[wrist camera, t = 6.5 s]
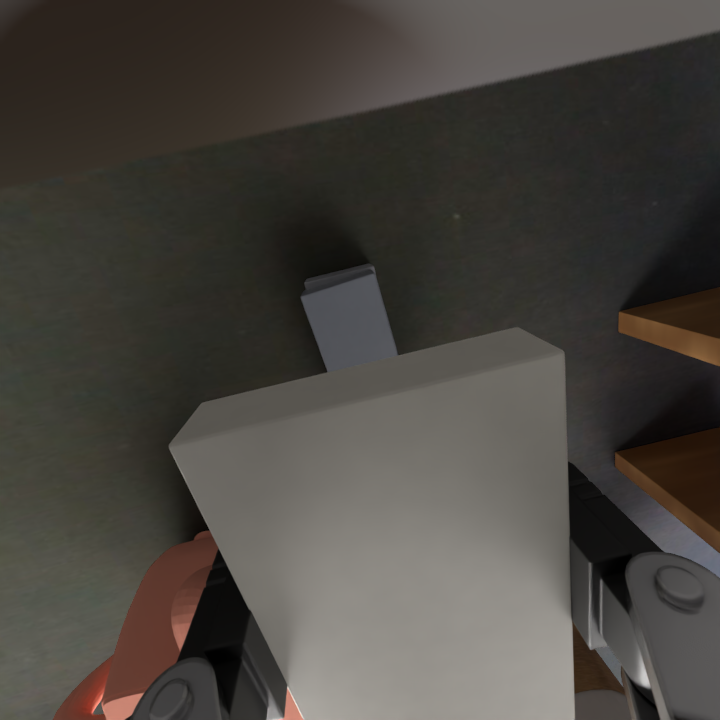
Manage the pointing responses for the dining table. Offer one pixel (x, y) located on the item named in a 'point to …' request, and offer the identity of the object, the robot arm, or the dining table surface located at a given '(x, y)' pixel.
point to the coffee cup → (595, 685)
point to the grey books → (348, 317)
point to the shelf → (690, 452)
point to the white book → (402, 530)
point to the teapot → (151, 635)
